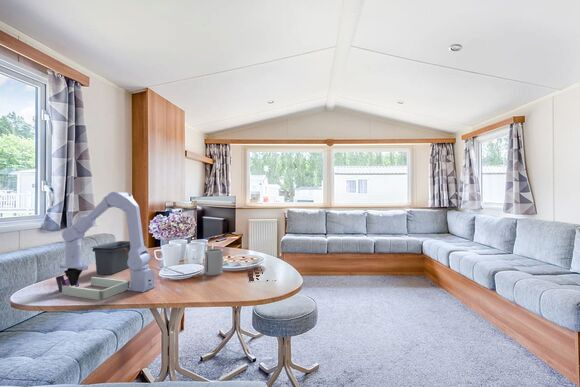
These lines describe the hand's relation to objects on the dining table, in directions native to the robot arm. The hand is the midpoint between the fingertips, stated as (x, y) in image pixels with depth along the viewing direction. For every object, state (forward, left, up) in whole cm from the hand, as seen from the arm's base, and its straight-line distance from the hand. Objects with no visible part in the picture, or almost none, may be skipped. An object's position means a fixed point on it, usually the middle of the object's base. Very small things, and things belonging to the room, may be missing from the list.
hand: (73, 285), depth 132 cm
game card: (+2, +2, -2) cm, 3 cm away
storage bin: (+7, -29, -2) cm, 30 cm away
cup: (-45, -41, -2) cm, 61 cm away
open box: (-13, 0, -1) cm, 13 cm away
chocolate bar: (-69, -47, -2) cm, 84 cm away
